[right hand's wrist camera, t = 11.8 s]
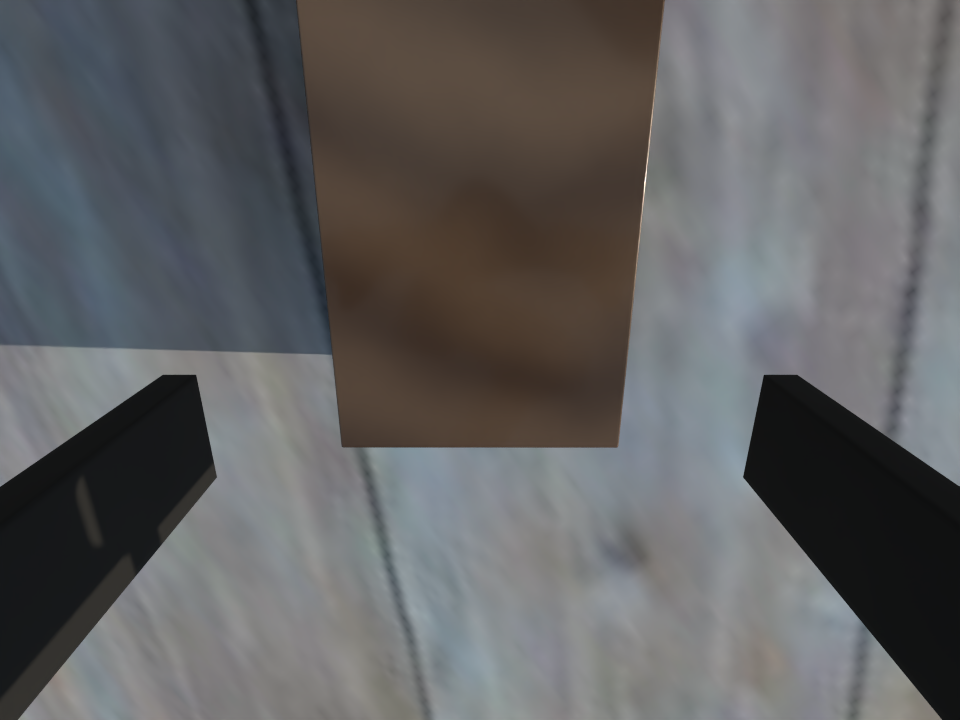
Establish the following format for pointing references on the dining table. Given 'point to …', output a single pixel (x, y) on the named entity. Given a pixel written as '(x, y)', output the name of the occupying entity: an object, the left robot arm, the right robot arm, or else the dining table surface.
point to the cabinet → (480, 212)
